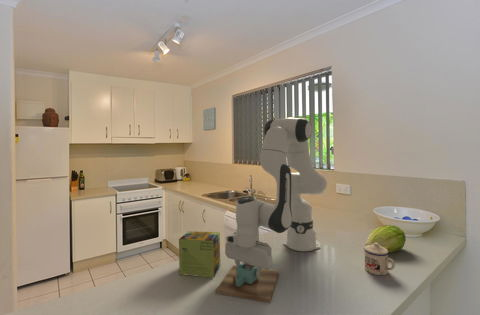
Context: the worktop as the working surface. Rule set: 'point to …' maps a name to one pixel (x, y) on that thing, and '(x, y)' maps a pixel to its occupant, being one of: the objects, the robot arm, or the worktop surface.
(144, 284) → the worktop surface
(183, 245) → the protein box
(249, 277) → the teal open cubby box
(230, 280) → the post board
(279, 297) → the worktop surface
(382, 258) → the teacup with lid
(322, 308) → the worktop surface
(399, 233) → the lettuce
